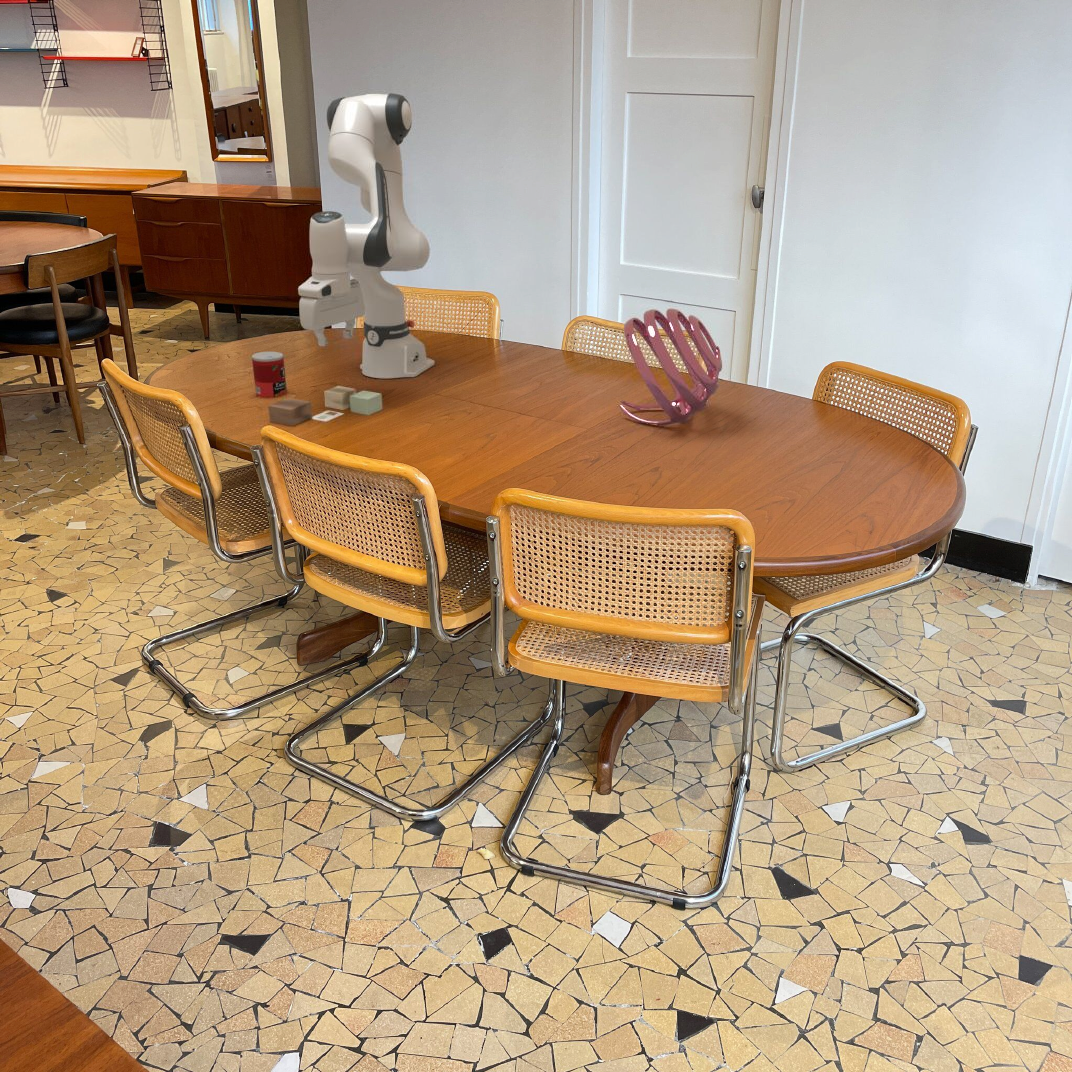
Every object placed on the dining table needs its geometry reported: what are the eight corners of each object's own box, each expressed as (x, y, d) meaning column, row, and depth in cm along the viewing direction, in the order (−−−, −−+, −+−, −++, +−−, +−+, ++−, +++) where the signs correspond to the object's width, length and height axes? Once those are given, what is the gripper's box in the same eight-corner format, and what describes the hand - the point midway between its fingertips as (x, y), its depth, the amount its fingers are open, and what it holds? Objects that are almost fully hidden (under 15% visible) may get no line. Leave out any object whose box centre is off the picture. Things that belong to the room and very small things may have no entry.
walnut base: (290, 413, 245) (288, 397, 243) (312, 417, 242) (310, 401, 240) (270, 421, 239) (268, 405, 238) (292, 426, 236) (290, 409, 235)
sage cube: (364, 409, 252) (363, 390, 249) (382, 413, 249) (381, 393, 247) (351, 415, 247) (349, 396, 245) (368, 419, 245) (367, 399, 243)
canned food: (280, 402, 256) (275, 359, 252) (250, 400, 258) (246, 358, 253) (292, 393, 263) (288, 352, 258) (264, 391, 264) (259, 350, 260)
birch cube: (339, 404, 255) (338, 385, 253) (356, 408, 253) (355, 389, 251) (325, 410, 251) (324, 391, 249) (343, 414, 248) (341, 394, 246)
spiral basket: (571, 344, 234) (672, 282, 224) (603, 345, 260) (695, 290, 250) (627, 450, 234) (731, 393, 224) (653, 441, 260) (748, 389, 250)
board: (293, 405, 254) (293, 401, 253) (350, 416, 246) (349, 412, 245) (242, 425, 239) (242, 420, 239) (301, 438, 231) (300, 433, 231)
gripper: (348, 276, 248) (352, 331, 254) (292, 289, 232) (298, 348, 237) (369, 278, 245) (372, 334, 251) (314, 292, 229) (318, 351, 235)
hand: (335, 341), depth 244 cm, fingers open, 8 cm apart
